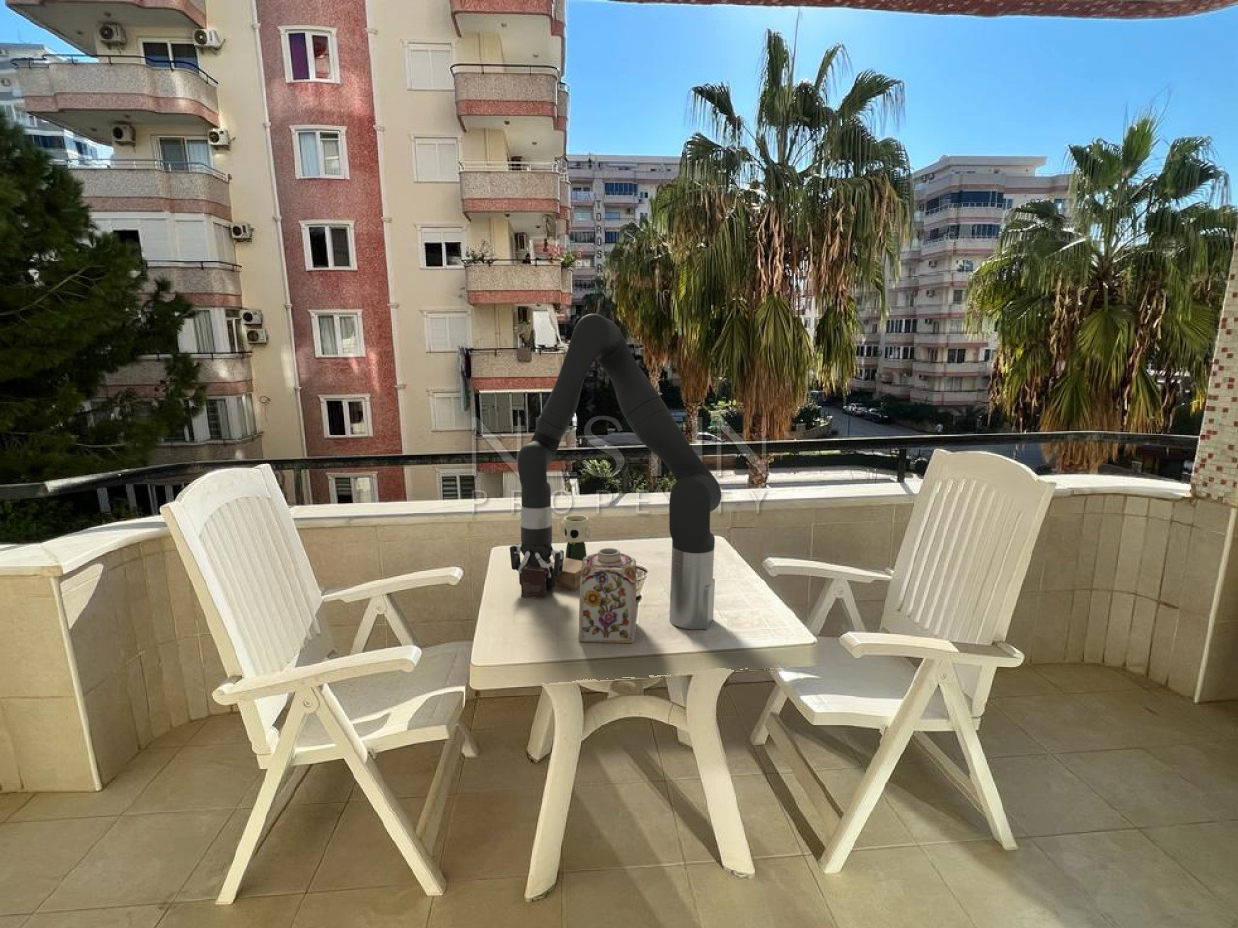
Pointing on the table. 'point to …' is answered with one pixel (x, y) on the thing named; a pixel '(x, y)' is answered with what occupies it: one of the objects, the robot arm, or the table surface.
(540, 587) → the box
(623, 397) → the robot arm
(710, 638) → the table surface
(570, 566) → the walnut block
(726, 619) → the table surface
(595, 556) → the decorative jar
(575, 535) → the character mug
